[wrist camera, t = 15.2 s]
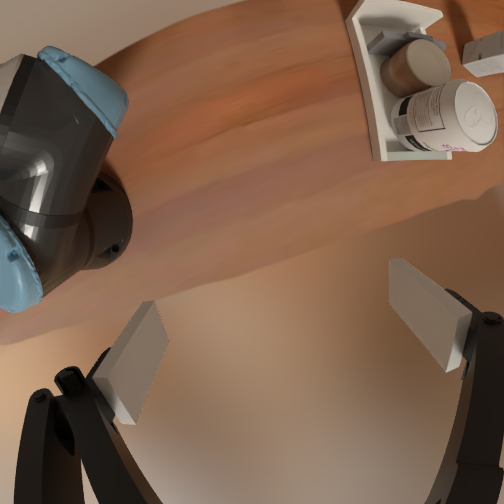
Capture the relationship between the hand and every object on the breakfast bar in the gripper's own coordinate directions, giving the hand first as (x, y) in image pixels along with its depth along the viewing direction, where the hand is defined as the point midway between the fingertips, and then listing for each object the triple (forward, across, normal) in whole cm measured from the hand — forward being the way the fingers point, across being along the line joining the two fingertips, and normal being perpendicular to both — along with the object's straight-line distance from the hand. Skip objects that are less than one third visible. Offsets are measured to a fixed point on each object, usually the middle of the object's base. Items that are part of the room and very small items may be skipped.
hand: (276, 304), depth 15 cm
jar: (+25, +24, +18) cm, 39 cm away
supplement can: (+24, +24, +10) cm, 36 cm away
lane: (+26, +24, +17) cm, 39 cm away
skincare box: (+26, +44, +24) cm, 56 cm away
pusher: (+25, +24, +22) cm, 41 cm away
